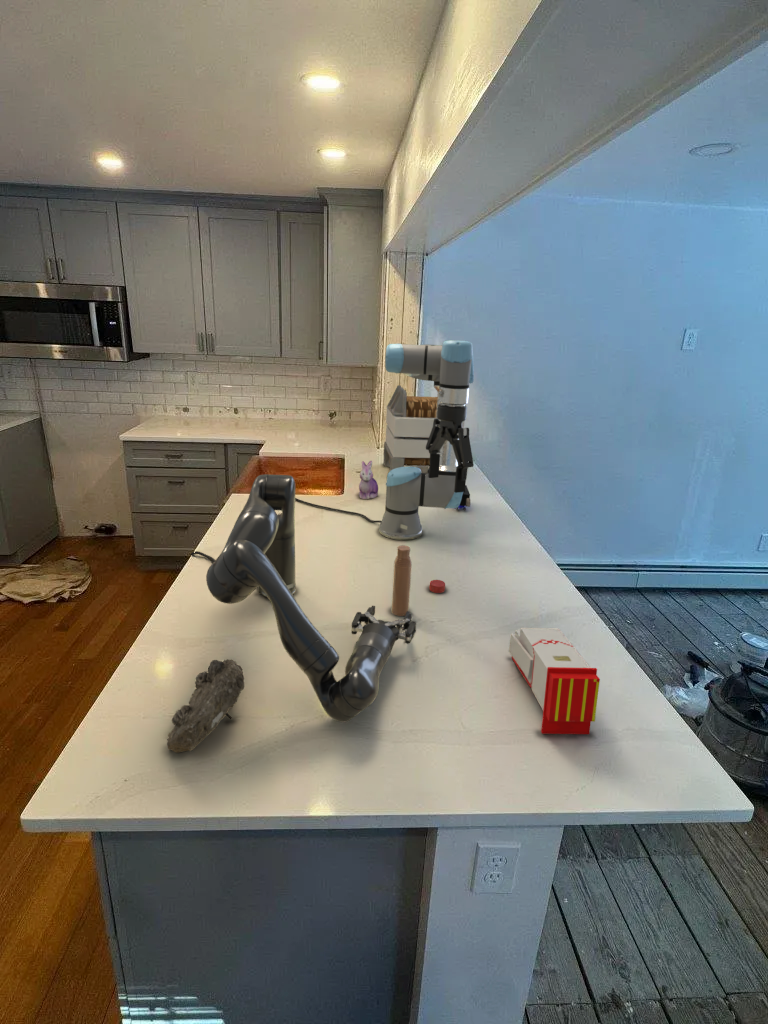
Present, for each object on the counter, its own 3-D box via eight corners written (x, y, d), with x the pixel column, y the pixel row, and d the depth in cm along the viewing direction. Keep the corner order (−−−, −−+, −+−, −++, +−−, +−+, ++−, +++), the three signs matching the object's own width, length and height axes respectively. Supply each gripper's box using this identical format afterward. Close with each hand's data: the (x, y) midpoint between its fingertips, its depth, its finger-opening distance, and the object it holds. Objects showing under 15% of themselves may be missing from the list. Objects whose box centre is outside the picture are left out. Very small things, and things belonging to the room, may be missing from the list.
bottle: (409, 608, 151) (413, 545, 144) (407, 616, 146) (411, 552, 140) (392, 606, 151) (396, 543, 145) (390, 614, 147) (393, 550, 141)
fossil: (192, 660, 117) (244, 628, 112) (224, 691, 120) (276, 661, 115) (142, 746, 98) (202, 712, 93) (182, 779, 101) (242, 748, 96)
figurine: (363, 500, 232) (364, 465, 227) (352, 493, 240) (353, 459, 235) (383, 498, 236) (385, 463, 231) (372, 491, 244) (373, 457, 239)
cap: (426, 590, 161) (426, 583, 160) (433, 584, 164) (434, 578, 164) (440, 594, 159) (441, 588, 158) (447, 588, 162) (448, 582, 162)
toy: (555, 612, 132) (609, 675, 103) (550, 665, 135) (600, 741, 106) (504, 611, 132) (543, 673, 102) (499, 664, 134) (536, 740, 105)
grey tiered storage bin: (382, 463, 289) (386, 382, 275) (445, 464, 293) (451, 384, 279) (390, 482, 257) (394, 392, 243) (460, 483, 261) (468, 394, 247)
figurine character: (470, 515, 225) (465, 499, 238) (472, 498, 221) (467, 483, 235) (453, 515, 224) (449, 499, 238) (455, 497, 221) (451, 482, 234)
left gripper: (341, 657, 124) (362, 620, 139) (404, 669, 121) (419, 630, 136) (341, 627, 121) (363, 593, 136) (406, 638, 118) (421, 602, 133)
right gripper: (416, 397, 153) (411, 472, 160) (466, 413, 131) (458, 500, 139) (440, 396, 156) (435, 470, 163) (493, 412, 135) (484, 497, 142)
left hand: (390, 611), depth 136 cm, fingers open, 8 cm apart
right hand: (445, 484), depth 151 cm, fingers open, 13 cm apart
